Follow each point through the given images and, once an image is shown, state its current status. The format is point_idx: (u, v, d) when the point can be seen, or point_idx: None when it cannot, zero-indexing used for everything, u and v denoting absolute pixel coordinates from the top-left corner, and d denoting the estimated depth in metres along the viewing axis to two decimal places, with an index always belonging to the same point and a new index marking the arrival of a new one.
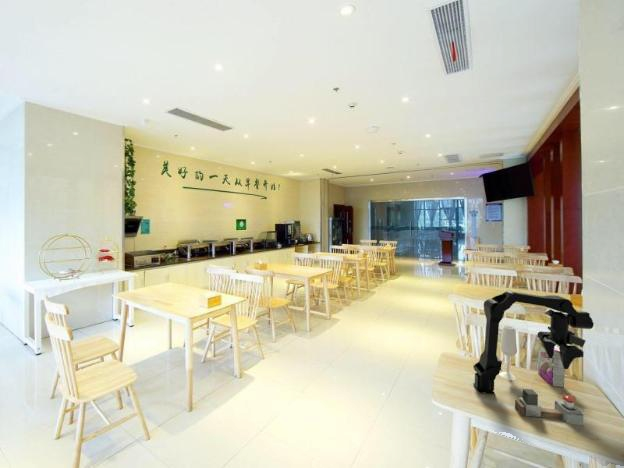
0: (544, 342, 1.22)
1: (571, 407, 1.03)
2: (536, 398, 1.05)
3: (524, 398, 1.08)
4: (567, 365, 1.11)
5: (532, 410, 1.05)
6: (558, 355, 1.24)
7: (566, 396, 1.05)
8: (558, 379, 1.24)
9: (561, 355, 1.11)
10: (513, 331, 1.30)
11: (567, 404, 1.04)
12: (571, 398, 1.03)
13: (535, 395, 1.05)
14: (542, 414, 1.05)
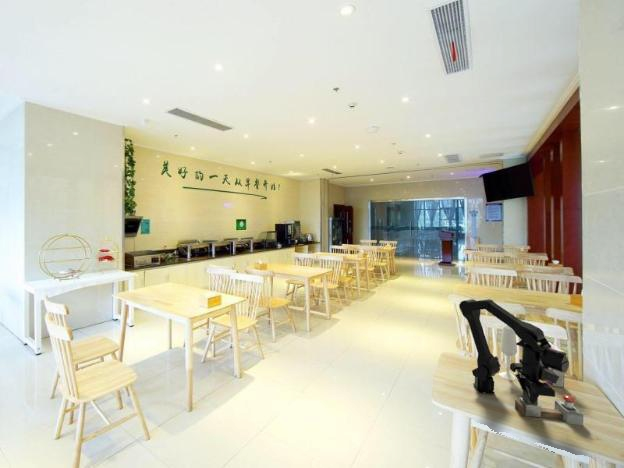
0: (520, 379, 1.09)
1: (571, 407, 1.03)
2: None
3: (524, 398, 1.08)
4: (534, 399, 1.04)
5: (532, 410, 1.05)
6: None
7: (566, 396, 1.05)
8: (558, 379, 1.24)
9: (527, 389, 1.04)
10: (513, 331, 1.30)
11: (567, 404, 1.04)
12: (571, 398, 1.03)
13: None
14: (542, 414, 1.05)
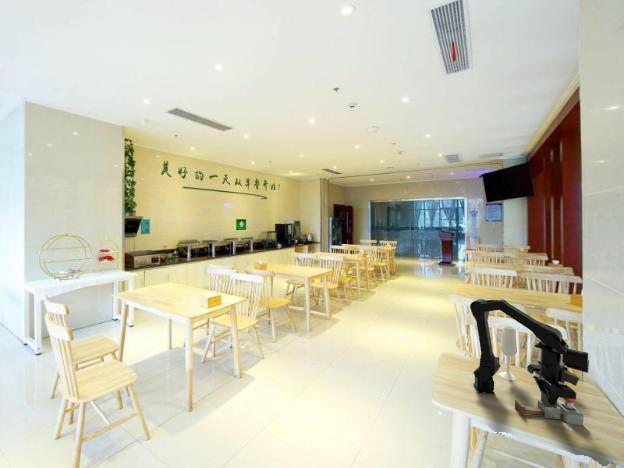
0: (538, 381, 1.08)
1: (571, 407, 1.03)
2: None
3: (543, 400, 1.06)
4: (553, 401, 1.03)
5: (551, 412, 1.04)
6: None
7: None
8: None
9: (547, 391, 1.02)
10: (513, 331, 1.30)
11: (567, 404, 1.04)
12: None
13: None
14: (542, 414, 1.05)
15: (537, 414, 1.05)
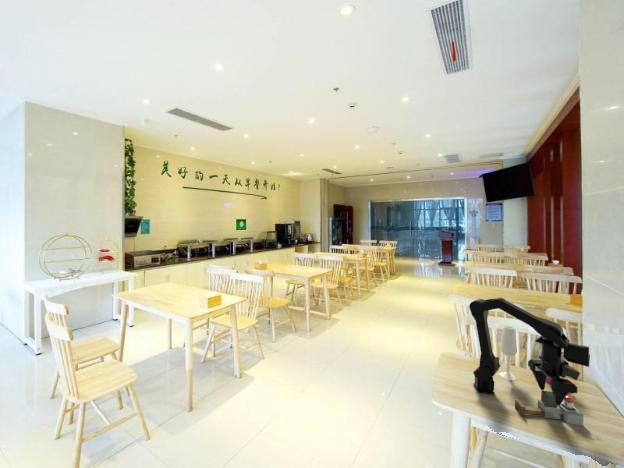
0: (535, 372, 1.11)
1: (571, 407, 1.03)
2: None
3: (543, 400, 1.06)
4: (560, 400, 1.00)
5: (551, 412, 1.04)
6: None
7: (566, 396, 1.05)
8: None
9: (553, 390, 1.00)
10: (513, 331, 1.30)
11: (567, 404, 1.04)
12: (571, 398, 1.03)
13: None
14: (542, 414, 1.05)
15: (537, 414, 1.05)
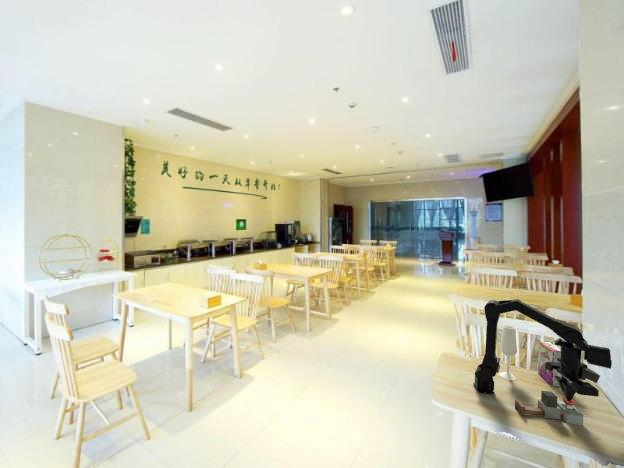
0: (561, 380, 1.05)
1: None
2: (556, 401, 1.04)
3: (543, 400, 1.06)
4: (570, 396, 1.03)
5: (551, 412, 1.04)
6: (558, 355, 1.24)
7: (566, 399, 1.05)
8: None
9: (564, 385, 1.03)
10: (513, 331, 1.30)
11: (567, 407, 1.04)
12: (571, 401, 1.04)
13: (554, 397, 1.04)
14: (542, 414, 1.05)
15: (537, 414, 1.05)
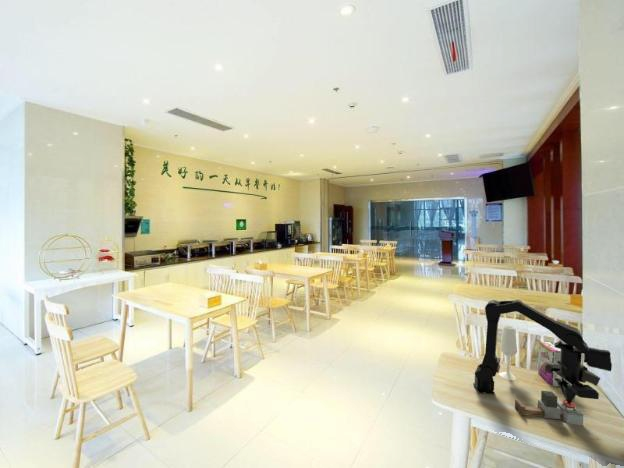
0: (561, 383, 1.05)
1: None
2: (556, 401, 1.04)
3: (543, 400, 1.06)
4: (571, 399, 1.03)
5: (551, 412, 1.04)
6: (558, 355, 1.24)
7: (566, 402, 1.05)
8: None
9: (564, 388, 1.03)
10: (513, 331, 1.30)
11: (567, 409, 1.04)
12: (571, 404, 1.04)
13: (554, 397, 1.04)
14: (542, 414, 1.05)
15: (537, 414, 1.05)
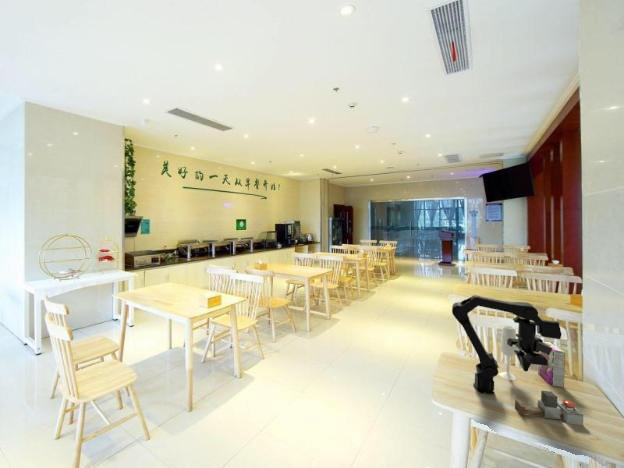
0: (518, 354, 1.16)
1: None
2: (556, 401, 1.04)
3: (543, 400, 1.06)
4: (527, 367, 1.14)
5: (551, 412, 1.04)
6: (558, 355, 1.24)
7: (566, 402, 1.05)
8: (558, 379, 1.24)
9: (521, 358, 1.14)
10: (513, 331, 1.30)
11: (567, 409, 1.04)
12: (571, 404, 1.04)
13: (554, 397, 1.04)
14: (542, 414, 1.05)
15: (537, 414, 1.05)
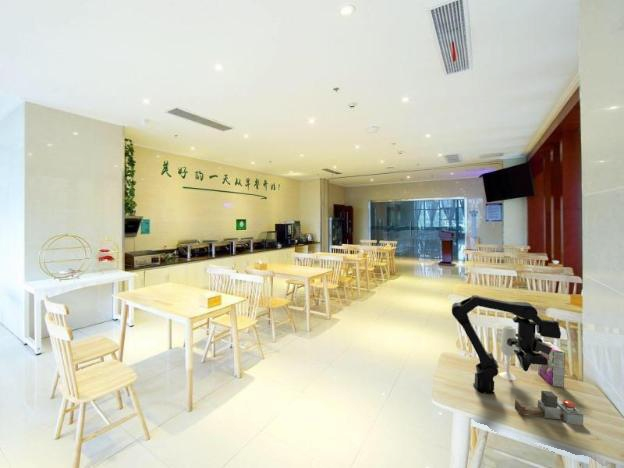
0: (518, 354, 1.16)
1: None
2: (556, 401, 1.04)
3: (543, 400, 1.06)
4: (526, 367, 1.14)
5: (551, 412, 1.04)
6: (558, 355, 1.24)
7: (566, 402, 1.05)
8: (558, 379, 1.24)
9: (520, 357, 1.14)
10: (513, 331, 1.30)
11: (567, 409, 1.04)
12: (571, 404, 1.04)
13: (554, 397, 1.04)
14: (542, 414, 1.05)
15: (537, 414, 1.05)
